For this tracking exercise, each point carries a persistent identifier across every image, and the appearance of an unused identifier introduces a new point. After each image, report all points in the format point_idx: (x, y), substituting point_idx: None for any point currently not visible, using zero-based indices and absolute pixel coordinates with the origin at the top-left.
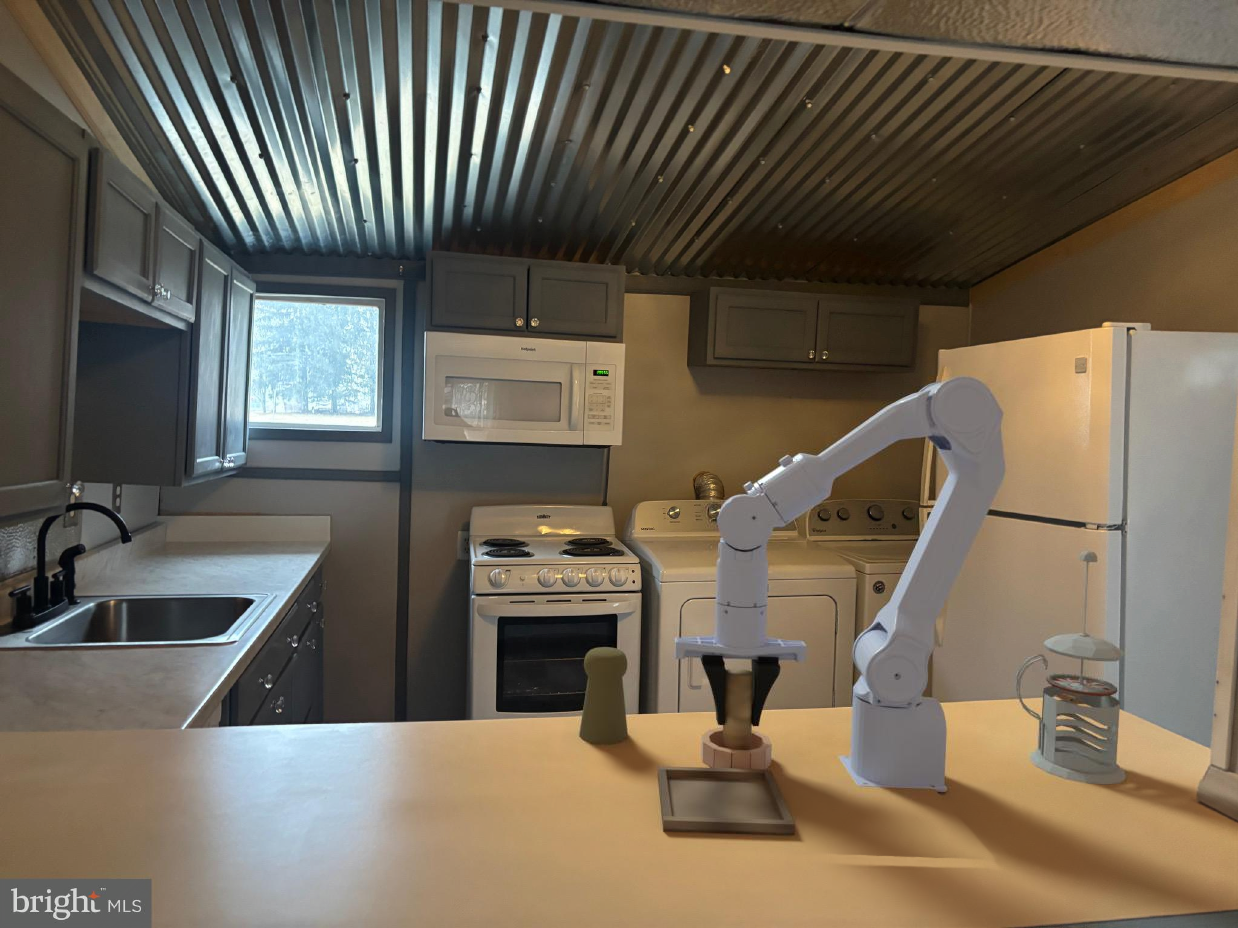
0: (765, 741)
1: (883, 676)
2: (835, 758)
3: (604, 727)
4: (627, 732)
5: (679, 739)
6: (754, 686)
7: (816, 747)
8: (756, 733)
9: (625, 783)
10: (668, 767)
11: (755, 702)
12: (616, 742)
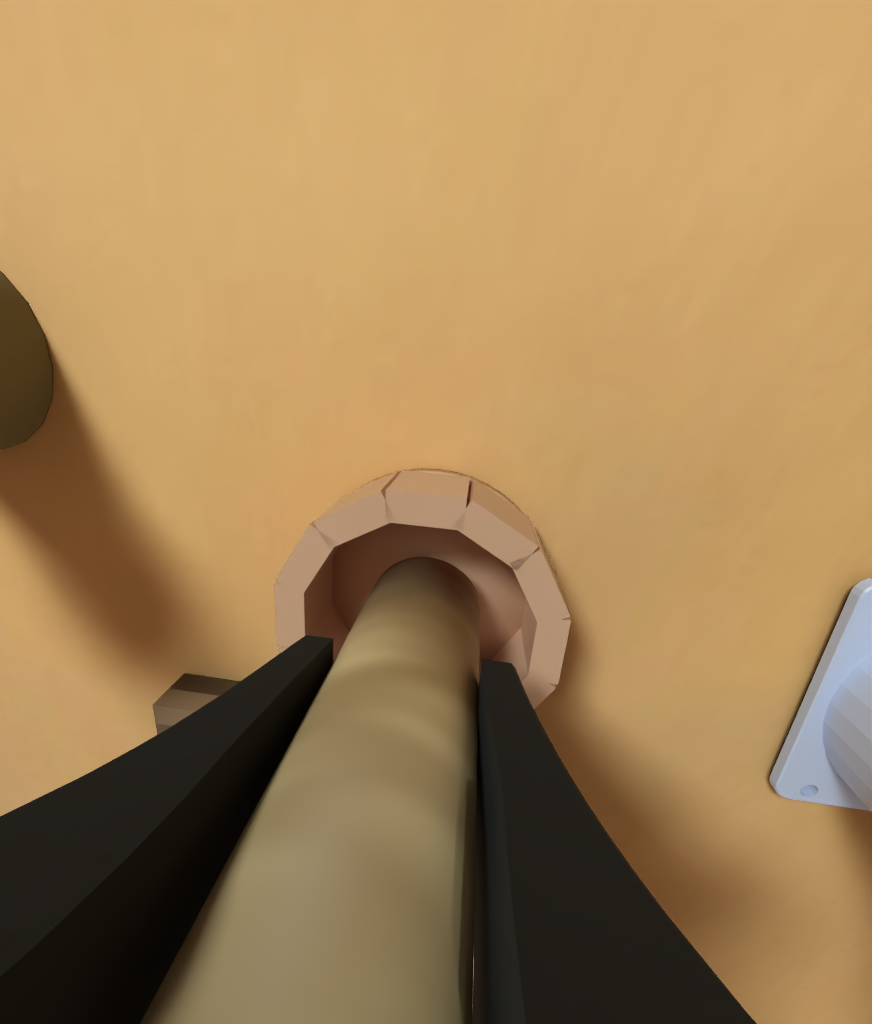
0: (539, 659)
1: None
2: (854, 550)
3: None
4: (8, 370)
5: (244, 340)
6: (487, 958)
7: (843, 433)
8: (529, 571)
9: (106, 678)
10: (184, 714)
11: (475, 890)
12: (2, 440)
